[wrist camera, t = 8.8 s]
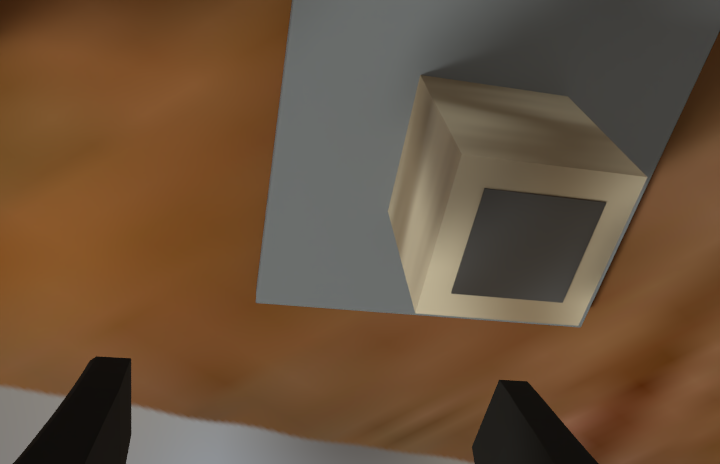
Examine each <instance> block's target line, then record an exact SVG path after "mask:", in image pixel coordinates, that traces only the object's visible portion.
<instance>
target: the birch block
mask: <svg viewBox="0 0 720 464" xmlns="http://www.w3.org/2000/svg"><path fill="white" fill-rule="evenodd" d="M646 179H647V176H646V175H645V174H644V173H643V172H642V171H641V170H640V169H639V168H638V167H637V166H636V165H635V164H634V163H633V162H632V161H631V160H630V159H629V158H628V157H627V156H626V155H625V154H624V153H623V152H622V151H621V150H620V149H619V148H618V147H617V146H616V145H615V144H614V143H613V142H612V141H611V140H610V139H609V138H608V137H607V136H606V135H605V134H604V133H603V132H602V131H601V130H600V129H599V128H598V127H597V126H596V125H595V123H594V122H593V121H592V120H591V119H590V118H589V117H588V116H587V115H586V114H585V113H584V112H583V111H582V110H581V109H580V108H579V107H578V106H577V105H576V104H575V103H574V102H573V101H572V100H571V99H570V98H569V97H568V96H562V95H555V94H548V93H541V92H534V91H527V90H521V89H514V88H507V87H500V86H493V85H486V84H479V83H473V82H466V81H459V80H452V79H445V78H438V77H431V76H424V75H420V78H419V82H418V87H417V91H416V95H415V99H414V103H413V108H412V112H411V116H410V120H409V124H408V129H407V133H406V137H405V141H404V145H403V150H402V154H401V158H400V162H399V166H398V171H397V175H396V179H395V183H394V187H393V192H392V196H391V200H390V204H389V208H388V214H389V217H390V221H391V225H392V229H393V232H394V236H395V240H396V243H397V247H398V251H399V255H400V258H401V262H402V266H403V269H404V273H405V277H406V281H407V284H408V288H409V292H410V296H411V299H412V303H413V307H414V310H415V313H417V314H430V315H443V316H456V317H469V318H483V319H496V320H509V321H522V322H535V323H548V324H562V325H575V326H578V325H579V323H580V321H581V319H582V317H583V315H584V312H585V310H586V308H587V306H588V304H589V302H590V300H591V297H592V295H593V293H594V291H595V289H596V287H597V285H598V282H599V280H600V278H601V276H602V274H603V272H604V270H605V267H606V265H607V263H608V261H609V259H610V257H611V255H612V252H613V250H614V248H615V246H616V244H617V242H618V239H619V237H620V235H621V233H622V231H623V229H624V227H625V224H626V222H627V220H628V218H629V216H630V214H631V212H632V209H633V207H634V205H635V203H636V201H637V199H638V197H639V194H640V192H641V190H642V188H643V186H644V184H645V182H646Z"/></svg>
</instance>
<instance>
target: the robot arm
mask: <svg viewBox="0 0 720 464" xmlns="http://www.w3.org/2000/svg"><path fill="white" fill-rule="evenodd" d="M130 438H131V359H130V358H113V357H95V358H93V359H92V360H90V361H89V363H88V365H87V366H86V368H85V370H84V371H83V373H82V374H81V376H80V377H79V379H78V380H77V382H76V383H75V385H74V386H73V388H72V389H71V391H70V392H69V393H68V395H67V396H66V398H65V399H64V400H63V402H62V403H61V404H60V406H59V407H58V409H57V410H56V412H55V413H54V414H53V415H52V417H51V418H50V419H49V420H48V422H47V423H46V424H45V425H44V427H43V428H42V429H41V430H40V432H39V433H38V434H37V435H36V437H35V438H34V439H33V440H32V442H31V443H30V444H29V445H28V447H27V448H26V449H25V451H24V452H23V453H22V454H21V455H20V457H18V459H17V460H16V461H15V462H14V463H13V464H126V459H127V454H128V448H129V443H130ZM472 449H473V456H474V462H475V464H598V463H597V462H596V460H595V459H594V458H593V457H592V456H591V455H590V454H589V453H588V451H587V450H586V449H585V448H584V447H583V446H582V445H581V443H580V442H579V441H578V440H577V439H576V438H575V437H574V435H573V434H572V433H571V432H570V431H569V430H568V428H567V427H566V426H565V425H564V424H563V423H562V421H561V420H560V419H559V418H558V417H557V415H556V414H555V413H554V412H553V411H552V410H551V408H550V407H549V406H548V405H547V404H546V402H545V401H544V400H543V399H542V398H541V397H540V395H539V394H538V393H537V392H536V391H535V390H534V389H533V387H532V386H531V385H530V384H529V383H528V382H527V381H510V380H499V382H498V384H497V387H496V389H495V392H494V394H493V397H492V399H491V402H490V404H489V406H488V409H487V411H486V414H485V416H484V419H483V421H482V424H481V426H480V429H479V431H478V434H477V436H476V438H475V441H474V443H473V446H472Z"/></svg>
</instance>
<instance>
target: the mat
mask: <svg viewBox="0 0 720 464" xmlns="http://www.w3.org/2000/svg"><path fill="white" fill-rule="evenodd" d="M719 31H720V0H292V6H291V14H290V22H289V30H288V38H287V46H286V54H285V62H284V70H283V79H282V87H281V95H280V103H279V111H278V119H277V127H276V135H275V143H274V151H273V159H272V167H271V175H270V183H269V191H268V199H267V208H266V216H265V224H264V232H263V240H262V248H261V256H260V264H259V272H258V280H257V288H256V303H265V304H278V305H291V306H305V307H318V308H331V309H344V310H358V311H371V312H384V313H397V314H411V315H424V316H437V317H451V318H464V319H477V320H490V321H504V322H517V323H530V324H543V325H557V326H570V327H581V325H582V323H583V321H584V319H585V317H586V315H587V313H588V311H589V308H590V306H591V304H592V302H593V300H594V298H595V296H596V294H597V291H598V289H599V287H600V285H601V283H602V281H603V279H604V276H605V274H606V272H607V270H608V268H609V266H610V264H611V262H612V259H613V257H614V255H615V253H616V251H617V249H618V247H619V244H620V242H621V240H622V238H623V236H624V234H625V232H626V230H627V227H628V225H629V223H630V221H631V219H632V217H633V215H634V212H635V210H636V208H637V206H638V204H639V202H640V200H641V198H642V195H643V193H644V191H645V189H646V187H647V185H648V183H649V180H650V178H651V176H652V174H653V172H654V170H655V168H656V166H657V163H658V161H659V159H660V157H661V155H662V153H663V151H664V148H665V146H666V144H667V142H668V140H669V138H670V136H671V134H672V131H673V129H674V127H675V125H676V123H677V121H678V119H679V116H680V114H681V112H682V110H683V108H684V106H685V104H686V102H687V99H688V97H689V95H690V93H691V91H692V89H693V87H694V85H695V82H696V80H697V78H698V76H699V74H700V72H701V70H702V67H703V65H704V63H705V61H706V59H707V57H708V55H709V53H710V50H711V48H712V46H713V44H714V42H715V40H716V38H717V35H718V33H719ZM420 75H424V76H431V77H438V78H445V79H452V80H459V81H466V82H473V83H479V84H486V85H493V86H500V87H507V88H514V89H521V90H527V91H534V92H541V93H548V94H555V95H562V96H568V97H569V98H570V99H571V100H572V101H573V102H574V103H575V104H576V105H577V106H578V107H579V108H580V109H581V110H582V111H583V112H584V113H585V114H586V115H587V116H588V117H589V118H590V119H591V120H592V121H593V122H594V123H595V125H596V126H597V127H598V128H599V129H600V130H601V131H602V132H603V133H604V134H605V135H606V136H607V137H608V138H609V139H610V140H611V141H612V142H613V143H614V144H615V145H616V146H617V147H618V148H619V149H620V150H621V151H622V152H623V153H624V154H625V155H626V156H627V157H628V158H629V159H630V160H631V161H632V162H633V163H634V164H635V165H636V166H637V167H638V168H639V169H640V170H641V171H642V172H643V173H644V174H645V175H646V176H647V179H646V182H645V184H644V186H643V188H642V190H641V192H640V194H639V197H638V199H637V201H636V203H635V205H634V207H633V209H632V212H631V214H630V216H629V218H628V220H627V222H626V224H625V227H624V229H623V231H622V233H621V235H620V237H619V239H618V242H617V244H616V246H615V248H614V250H613V252H612V255H611V257H610V259H609V261H608V263H607V265H606V267H605V270H604V272H603V274H602V276H601V278H600V280H599V282H598V285H597V287H596V289H595V291H594V293H593V295H592V297H591V300H590V302H589V304H588V306H587V308H586V310H585V312H584V315H583V317H582V319H581V321H580V323H579V325H578V326H575V325H562V324H548V323H535V322H522V321H509V320H496V319H483V318H469V317H456V316H443V315H430V314H417V313H415V310H414V307H413V303H412V299H411V296H410V292H409V288H408V284H407V281H406V277H405V273H404V269H403V266H402V262H401V258H400V255H399V251H398V247H397V243H396V240H395V236H394V232H393V229H392V225H391V221H390V217H389V214H388V208H389V204H390V200H391V196H392V192H393V187H394V183H395V179H396V175H397V171H398V166H399V162H400V158H401V154H402V150H403V145H404V141H405V137H406V133H407V129H408V124H409V120H410V116H411V112H412V108H413V103H414V99H415V95H416V91H417V87H418V82H419V78H420Z"/></svg>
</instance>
